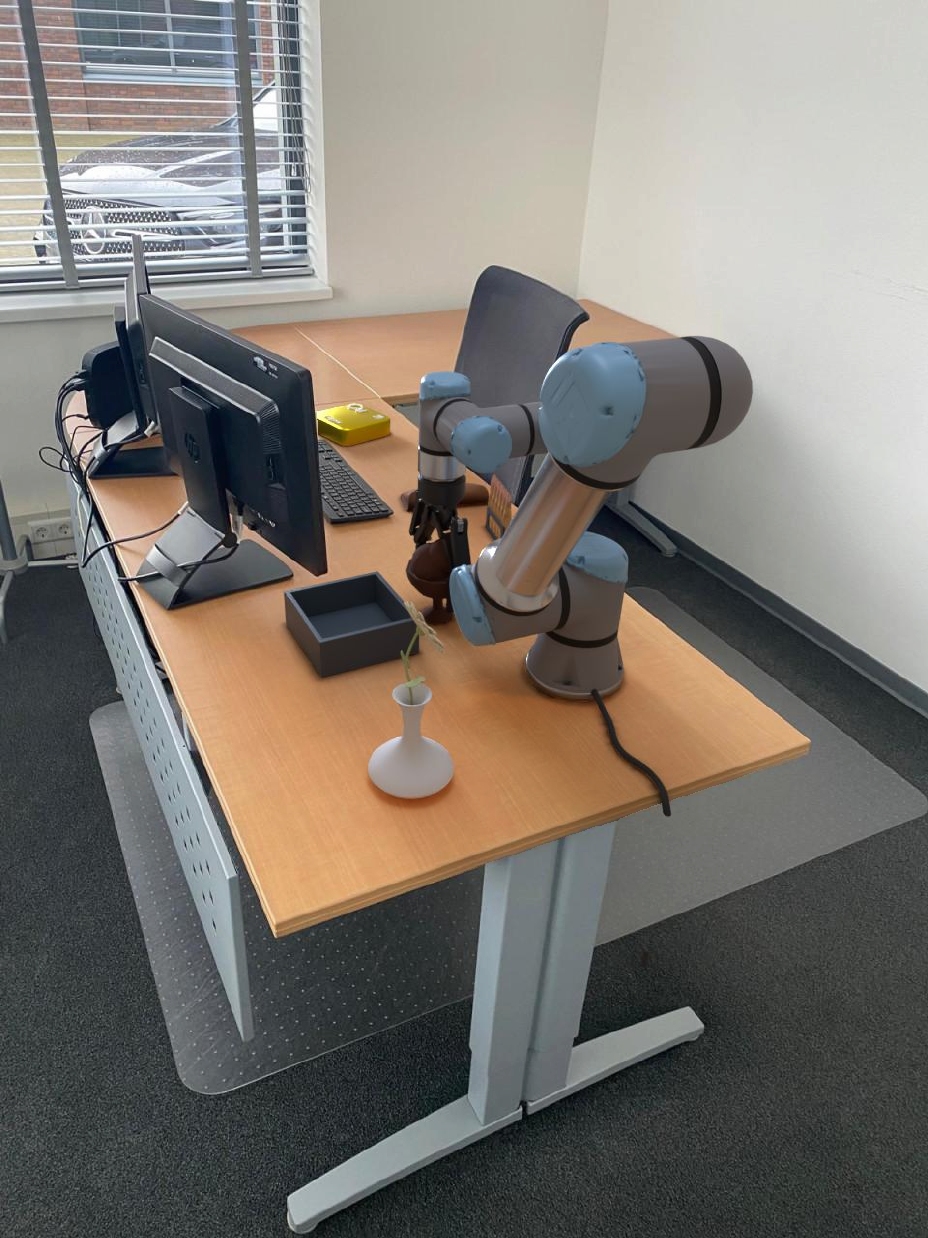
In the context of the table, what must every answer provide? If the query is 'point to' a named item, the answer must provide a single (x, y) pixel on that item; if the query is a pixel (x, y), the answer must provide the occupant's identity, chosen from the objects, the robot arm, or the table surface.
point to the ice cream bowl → (431, 579)
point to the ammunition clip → (498, 509)
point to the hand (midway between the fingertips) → (438, 594)
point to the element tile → (352, 424)
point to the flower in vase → (412, 737)
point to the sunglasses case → (471, 495)
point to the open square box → (350, 623)
